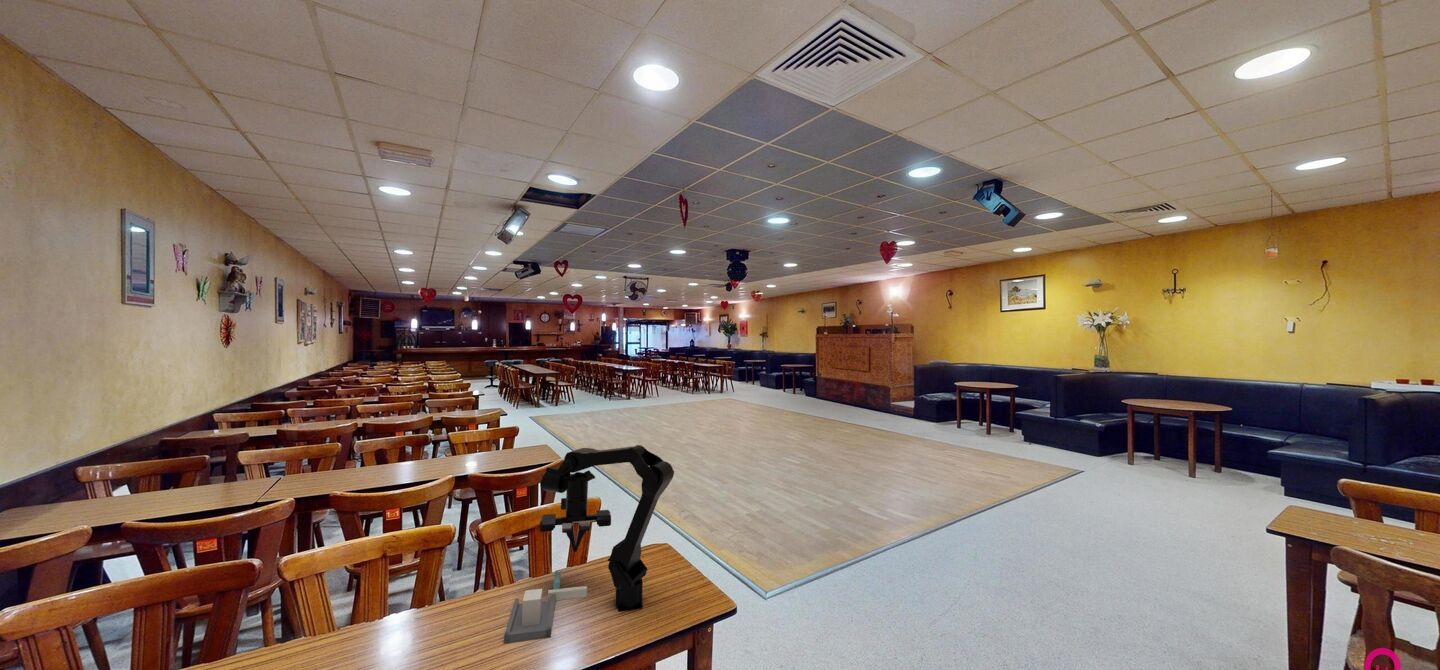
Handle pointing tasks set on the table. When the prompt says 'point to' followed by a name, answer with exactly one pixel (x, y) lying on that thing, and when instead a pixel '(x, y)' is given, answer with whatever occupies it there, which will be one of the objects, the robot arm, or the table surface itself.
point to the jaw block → (532, 607)
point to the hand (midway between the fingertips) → (575, 551)
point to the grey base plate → (531, 632)
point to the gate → (565, 590)
